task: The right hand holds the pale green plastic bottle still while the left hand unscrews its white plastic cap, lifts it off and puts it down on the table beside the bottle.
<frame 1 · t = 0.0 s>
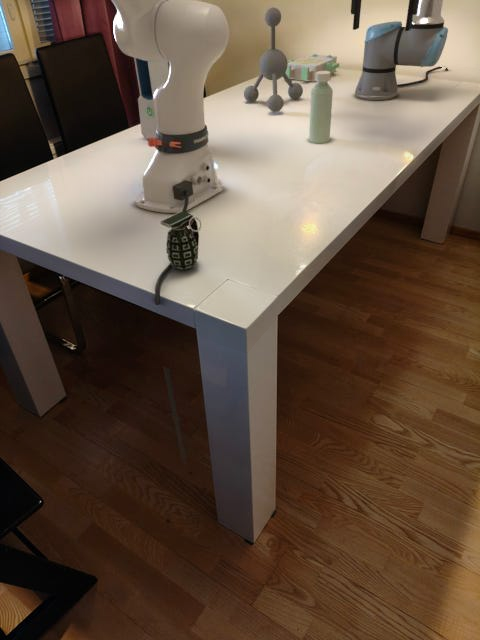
right hand: (381, 29, 125), 28 cm above the table, tool pointing down, fingers open, 13 cm apart
bottle: (319, 140, 145), on the table
cap: (322, 73, 134), point 18 cm above the table, screwed on, not yet turned
decorative block: (310, 76, 212), on the table
electronic device: (163, 138, 153), on the table
molecular model: (278, 104, 178), on the table
grenade: (185, 266, 91), on the table
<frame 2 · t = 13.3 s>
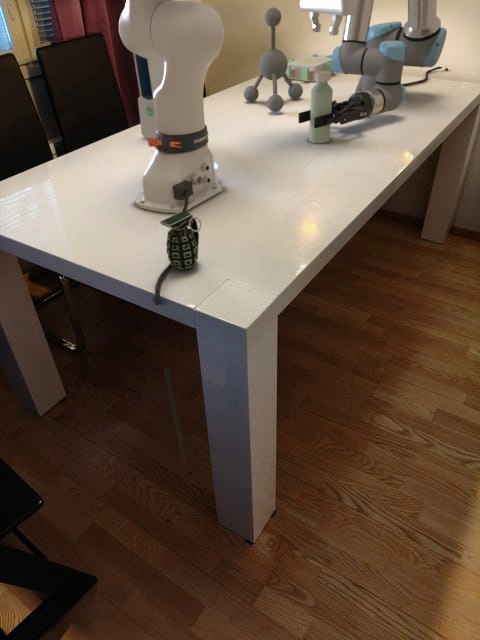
left hand: (324, 33, 128), 28 cm above the table, tool pointing down, fingers open, 6 cm apart
right hand: (307, 120, 138), 7 cm above the table, tool horizontal, fingers closed on bottle, 6 cm apart
bottle: (319, 140, 145), on the table, touching right hand
everything else where it was.
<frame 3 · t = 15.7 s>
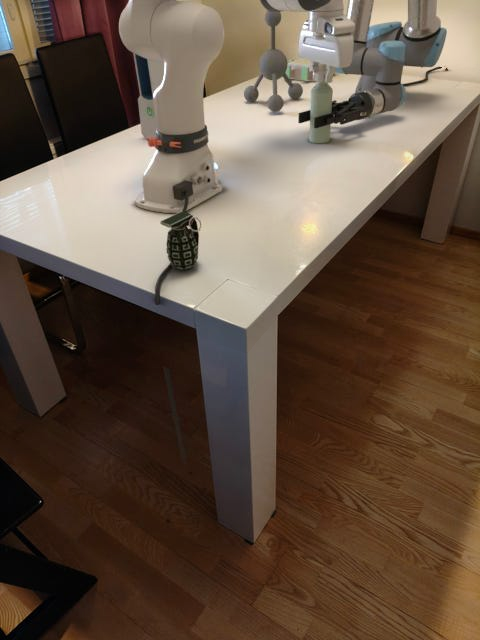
left hand: (322, 80, 135), 16 cm above the table, tool pointing down, fingers closed on cap, 4 cm apart
right hand: (307, 120, 138), 7 cm above the table, tool horizontal, fingers closed on bottle, 6 cm apart
bottle: (319, 140, 145), on the table, touching right hand
cap: (322, 73, 134), point 18 cm above the table, screwed on, not yet turned, touching left hand
everything else where it was.
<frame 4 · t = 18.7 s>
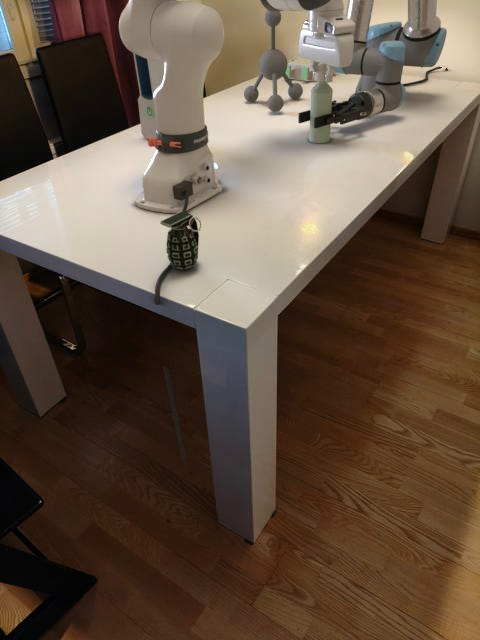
left hand: (322, 80, 135), 16 cm above the table, tool pointing down, fingers closed on cap, 4 cm apart
right hand: (307, 120, 138), 7 cm above the table, tool horizontal, fingers closed on bottle, 6 cm apart
bottle: (319, 140, 145), on the table, touching right hand
cap: (322, 73, 133), point 18 cm above the table, turned 83° so far, risen 0.1 cm, still on its thread, touching left hand
everything else where it was.
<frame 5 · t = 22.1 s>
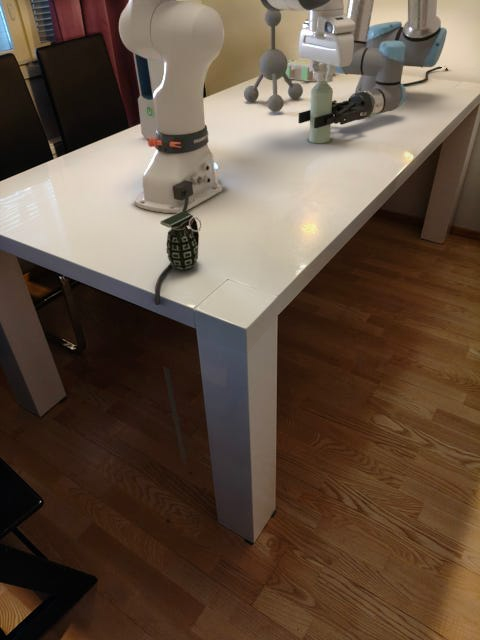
left hand: (322, 80, 135), 16 cm above the table, tool pointing down, fingers closed on cap, 4 cm apart
right hand: (307, 120, 138), 7 cm above the table, tool horizontal, fingers closed on bottle, 6 cm apart
bottle: (319, 140, 145), on the table, touching right hand
cap: (322, 72, 133), point 18 cm above the table, turned 166° so far, risen 0.2 cm, still on its thread, touching left hand
everything else where it was.
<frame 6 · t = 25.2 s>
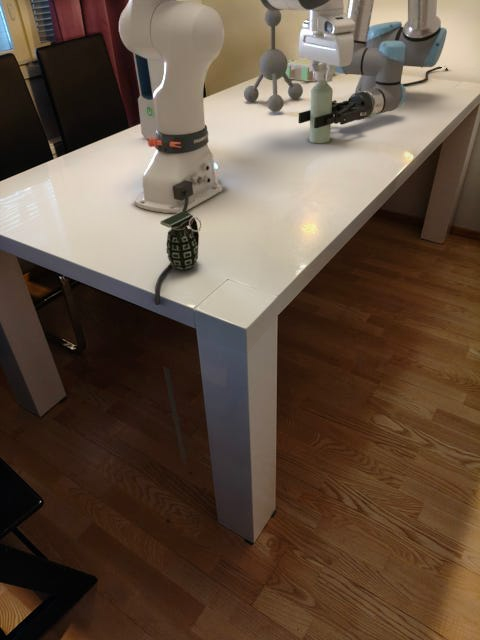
left hand: (322, 79, 135), 16 cm above the table, tool pointing down, fingers closed on cap, 4 cm apart
right hand: (307, 120, 138), 7 cm above the table, tool horizontal, fingers closed on bottle, 6 cm apart
bottle: (319, 140, 145), on the table, touching right hand
cap: (322, 72, 133), point 18 cm above the table, turned 249° so far, risen 0.3 cm, still on its thread, touching left hand
everything else where it was.
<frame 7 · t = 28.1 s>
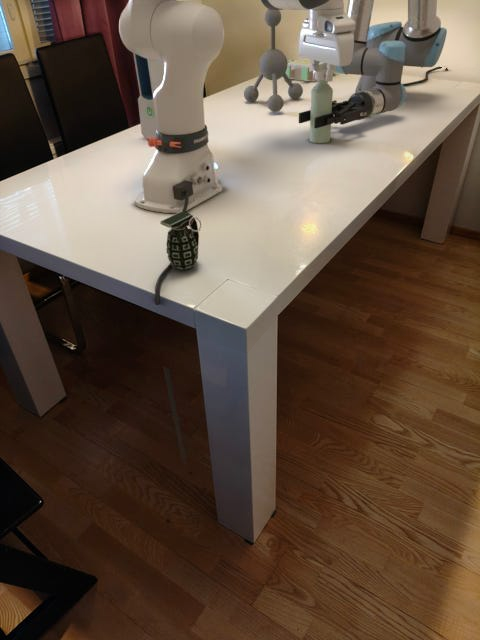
left hand: (322, 79, 134), 17 cm above the table, tool pointing down, fingers closed on cap, 4 cm apart
right hand: (307, 120, 138), 7 cm above the table, tool horizontal, fingers closed on bottle, 6 cm apart
bottle: (319, 140, 145), on the table, touching right hand
cap: (322, 72, 133), point 18 cm above the table, turned 332° so far, risen 0.3 cm, still on its thread, touching left hand
everything else where it was.
when the left hand's fingers open (2 cm above the table, at t = 37.2 s): cap drops 2 cm, point 2 cm above the table.
when the right hand's fingers open (7 cm above the table, at t = 38.2 s): bottle stays where it is, on the table.
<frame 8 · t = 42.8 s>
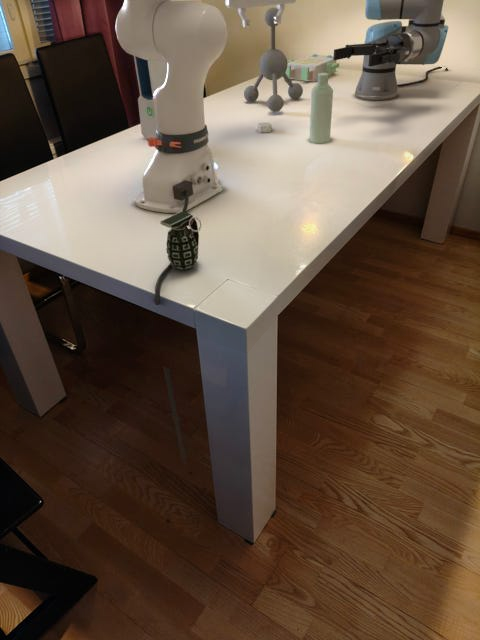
left hand: (261, 25, 137), 29 cm above the table, tool pointing down, fingers open, 8 cm apart
right hand: (351, 57, 137), 20 cm above the table, tool horizontal, fingers open, 13 cm apart
bottle: (319, 140, 145), on the table
cap: (264, 125, 153), point 2 cm above the table, off its thread
everything else where it was.
at the end: cap came off its thread; cap point 1.6 cm above the table; the left hand is holding nothing; the right hand is holding nothing; bottle tilted 0°; bottle moved 0.1 cm from its start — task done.
